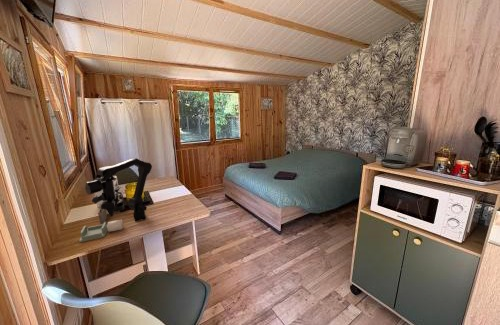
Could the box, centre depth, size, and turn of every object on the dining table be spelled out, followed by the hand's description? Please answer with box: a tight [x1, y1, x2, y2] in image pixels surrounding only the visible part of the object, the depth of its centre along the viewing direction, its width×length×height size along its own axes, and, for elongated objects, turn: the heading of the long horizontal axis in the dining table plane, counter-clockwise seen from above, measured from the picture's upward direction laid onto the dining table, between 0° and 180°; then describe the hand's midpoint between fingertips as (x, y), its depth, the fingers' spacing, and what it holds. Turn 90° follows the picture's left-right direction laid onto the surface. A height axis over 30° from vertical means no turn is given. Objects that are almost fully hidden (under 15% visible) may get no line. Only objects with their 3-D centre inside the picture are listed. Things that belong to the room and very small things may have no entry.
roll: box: [107, 219, 124, 233], centre depth 129 cm, size 7×6×6 cm
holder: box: [78, 221, 108, 243], centre depth 126 cm, size 12×13×4 cm
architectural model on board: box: [97, 204, 108, 224], centre depth 143 cm, size 11×3×10 cm, turn 27°
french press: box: [105, 180, 125, 213], centre depth 155 cm, size 12×9×23 cm
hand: (112, 212), depth 127 cm, fingers open, 9 cm apart
